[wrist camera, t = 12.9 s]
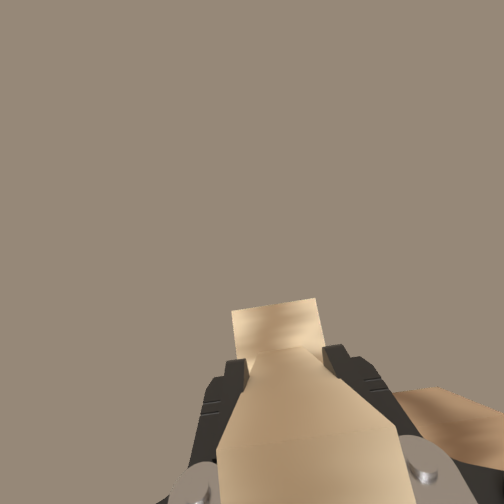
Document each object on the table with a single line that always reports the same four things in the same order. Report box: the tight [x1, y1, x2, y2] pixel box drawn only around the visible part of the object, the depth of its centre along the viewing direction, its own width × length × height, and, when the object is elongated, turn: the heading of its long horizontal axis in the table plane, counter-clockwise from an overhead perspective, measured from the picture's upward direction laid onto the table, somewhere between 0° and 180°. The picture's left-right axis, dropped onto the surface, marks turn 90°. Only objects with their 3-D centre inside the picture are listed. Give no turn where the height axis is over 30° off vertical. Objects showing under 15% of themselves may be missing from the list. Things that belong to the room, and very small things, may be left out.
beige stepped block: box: [216, 298, 416, 504], centre depth 13 cm, size 6×18×6 cm, turn 175°
